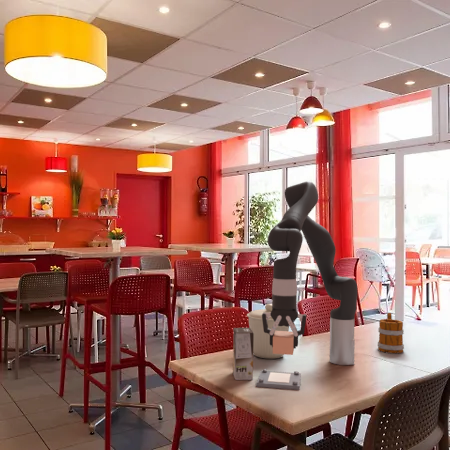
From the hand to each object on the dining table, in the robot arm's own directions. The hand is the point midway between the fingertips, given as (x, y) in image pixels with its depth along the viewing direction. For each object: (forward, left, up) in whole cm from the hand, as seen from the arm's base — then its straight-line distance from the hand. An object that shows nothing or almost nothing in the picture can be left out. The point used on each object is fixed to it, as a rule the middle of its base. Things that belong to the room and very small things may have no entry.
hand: (283, 347), depth 150 cm
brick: (0, 0, -1) cm, 1 cm away
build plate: (+2, -14, -15) cm, 21 cm away
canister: (+9, -46, -15) cm, 50 cm away
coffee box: (+15, -17, -15) cm, 27 cm away
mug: (-42, -71, -15) cm, 84 cm away
